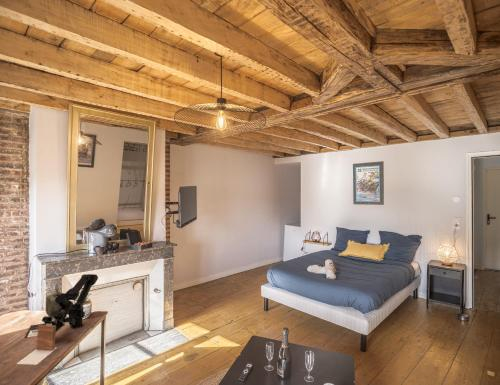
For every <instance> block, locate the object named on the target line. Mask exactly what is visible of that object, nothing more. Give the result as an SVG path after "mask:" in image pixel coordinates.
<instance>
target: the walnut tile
mask: <svg viewBox="0 0 500 385" xmlns="http://www.w3.org/2000/svg"><path fill="white" fill-rule="evenodd" d="M56 333H57V332H56V326H52V324H46V325H39V326H38V334H37V336H36V337H37V339H36V349H37V350H54V349H55V348H56ZM55 350H56V349H55ZM55 350H54V351H55Z"/></svg>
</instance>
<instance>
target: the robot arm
mask: <svg viewBox="0 0 500 385" xmlns="http://www.w3.org/2000/svg"><path fill="white" fill-rule="evenodd" d="M98 279H99V275H98V274H96V273H95V274H93V273H91V274H90V273H88V274H82V275H81V277H80V278H79V279H78V281H77V282H76V283H75V285H73V287H71V288H69V289H68V290H67V291H66V292H60V293H61V295H59V296H57V297H56V299H55V302H56V303H57V304H58V305H59V306H61V307H60V309H58V310H57V311H52V313H51V316H53V319H52V317H50V316H48V315H45V316H43V317H42V318H41V321H42V322H43V324H44V323H45V324H46V325H52V326H56V333H57V332H58V331H59V330H61V329H62V328H63V327H64V326H66V323H68V324H69V326H70V327H71V328H72V329H77V328H79V327H82V326H84V325H83V318H85V315H86V312H85V311H84V309H85V308H84V304H85V301H86V299H87V296H88V294H89V292H90V290H91V288H92V286H94V285H96V282H97V281H98ZM73 301H75V303H74V302H73Z"/></svg>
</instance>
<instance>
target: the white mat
mask: <svg viewBox="0 0 500 385" xmlns="http://www.w3.org/2000/svg"><path fill="white" fill-rule="evenodd" d="M56 349H57V347H55V349H54V350H37V348H36V349H34V350H33V351H32V352H30V353H29V354H28V355H26V356H25V357H24V358H23V357H22V359H21V360H20V361H18V362H17V363H16V365H34V366H35V365H38V364H39V363H41V362H42V361H43V360H44V359H45V358H46V357H48V356H49V355H50V354H52V352H54V351H55V350H56Z"/></svg>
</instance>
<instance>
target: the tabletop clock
mask: <svg viewBox="0 0 500 385" xmlns="http://www.w3.org/2000/svg"><path fill="white" fill-rule="evenodd" d="M54 288H55V291H54V292H53V293H52V294H49V295H47V296H46V299H45V313H46V316H50V317H51V318H52V319H54V317H53V316H51V313H52V311H57V310H58V309H60V307H61V306H59V305H58V304H57V303H56V302H55V299H56V297H57V296H59V295H61V293H62V292H60V290H59V286H58V284H56V285H55V287H54Z"/></svg>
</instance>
